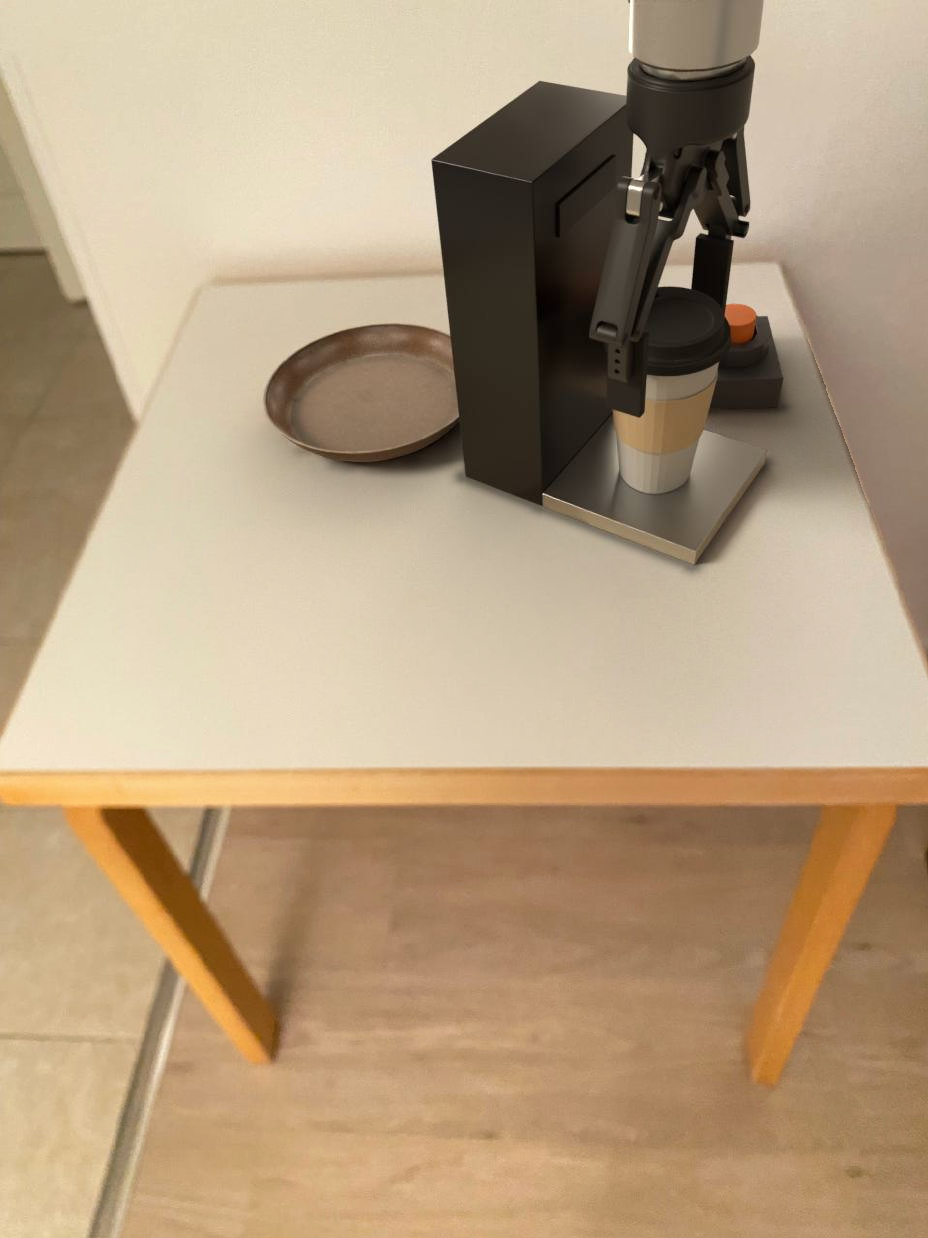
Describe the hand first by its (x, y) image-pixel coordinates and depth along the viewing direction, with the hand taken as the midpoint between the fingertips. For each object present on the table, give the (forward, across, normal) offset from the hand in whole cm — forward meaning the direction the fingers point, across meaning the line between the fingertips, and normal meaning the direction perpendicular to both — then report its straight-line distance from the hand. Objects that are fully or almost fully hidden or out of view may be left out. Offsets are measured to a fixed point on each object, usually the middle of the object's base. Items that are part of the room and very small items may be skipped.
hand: (667, 361), depth 74 cm
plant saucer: (+12, +3, -28) cm, 31 cm away
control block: (+12, -17, -1) cm, 21 cm away
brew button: (+8, -17, -1) cm, 19 cm away
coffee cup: (+11, 0, 0) cm, 11 cm away
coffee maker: (+13, 0, -4) cm, 13 cm away
